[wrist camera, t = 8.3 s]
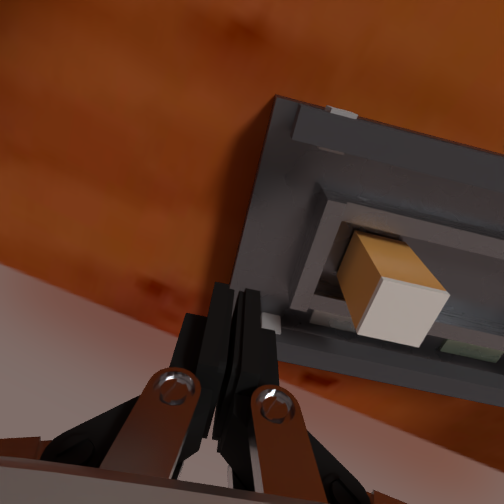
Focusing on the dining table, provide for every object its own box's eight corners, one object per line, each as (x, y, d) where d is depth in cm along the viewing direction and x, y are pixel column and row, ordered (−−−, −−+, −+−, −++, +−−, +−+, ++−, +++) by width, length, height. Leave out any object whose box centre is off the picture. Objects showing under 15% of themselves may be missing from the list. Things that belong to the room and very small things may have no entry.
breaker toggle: (405, 242, 19) (450, 295, 15) (384, 285, 21) (418, 347, 16) (354, 230, 19) (383, 279, 14) (336, 275, 20) (356, 334, 16)
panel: (659, 195, 21) (767, 227, 16) (524, 362, 27) (575, 418, 23) (275, 94, 19) (277, 99, 15) (225, 297, 25) (217, 344, 21)
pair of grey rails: (704, 205, 18) (760, 221, 16) (538, 393, 24) (562, 422, 22) (298, 97, 16) (302, 100, 14) (235, 328, 23) (232, 353, 21)
